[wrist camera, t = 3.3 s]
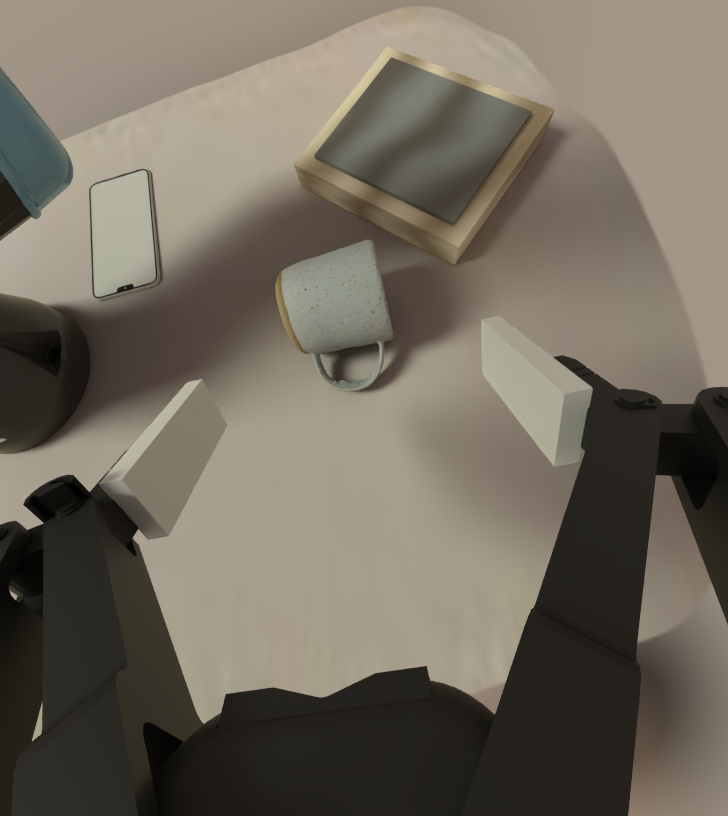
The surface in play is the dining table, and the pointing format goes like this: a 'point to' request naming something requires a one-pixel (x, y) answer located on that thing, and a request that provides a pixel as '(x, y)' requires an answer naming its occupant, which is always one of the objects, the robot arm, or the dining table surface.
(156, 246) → the smartphone
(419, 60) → the wooden picture frame
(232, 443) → the dining table surface
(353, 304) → the ceramic mug
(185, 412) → the robot arm
